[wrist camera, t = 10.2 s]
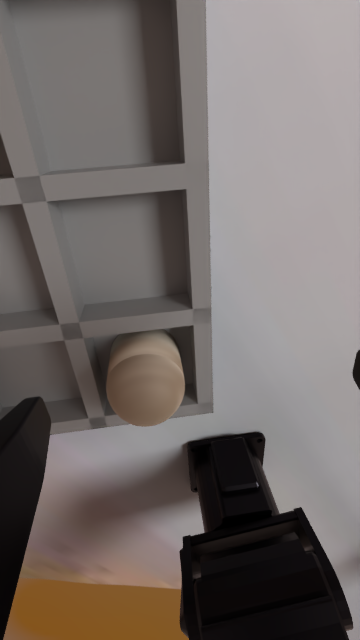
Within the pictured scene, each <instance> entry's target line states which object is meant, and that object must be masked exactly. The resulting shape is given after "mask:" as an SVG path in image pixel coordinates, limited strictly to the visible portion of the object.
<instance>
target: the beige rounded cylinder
mask: <svg viewBox="0 0 360 640" xmlns="http://www.w3.org/2000/svg"><path fill="white" fill-rule="evenodd" d="M106 392H107V398H108V400H109V403H110V405H111V407H112V409H113V410H114V412H115V413H116V414H117V415H118V416H119V417H120V418H121V419H123V420H124V421H126V422H128V423H130V424H132V425H136V426H153V425H157V424H160V423H162V422H164V421H166V420H167V419H168V418H170V417H171V416H172V415H173V414H174V413H175V412H176V411H177V409H178V408H179V406H180V404H181V402H182V400H183V396H184V392H185V380H184V374H183V369H182V363H181V358H180V353H179V347H178V344H177V342H176V340H175V338H174V337H173V336H172V335H171V334H170V333H169V332H168V331H166V330H164V329H157V330H148V331H140V332H131V333H123V334H119V335H118V336H117V337H116V339H115V340H114V342H113V344H112V347H111V352H110V359H109V367H108V375H107V382H106Z"/></svg>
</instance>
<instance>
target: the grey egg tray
mask: <svg viewBox="0 0 360 640" xmlns="http://www.w3.org/2000/svg"><path fill="white" fill-rule="evenodd" d="M157 329H164V330H166V331H168V332H169V333H170V334H171V335H172V336H173V337H174V338H175V340H176V342H177V344H178V347H179V353H180V358H181V363H182V369H183V374H184V380H185V392H184V396H183V400H182V402H181V404H180V406H179V408H178V409H177V411H176V412H175V413H174V414H173V415H172V416H171V417H170V418H177V417H185V416H192V415H199V414H207V413H213V380H212V325H211V270H210V215H209V160H208V106H207V51H206V0H0V419H2V418H3V417H4V416H5V415H6V414H7V413H8V412H10V411H11V410H12V409H13V408H14V407H15V406H16V405H17V404H19V403H20V402H21V401H22V400H23V399H25V398H29V397H36V396H40V397H41V398H42V399H43V401H44V403H45V405H46V408H47V410H48V413H49V415H50V418H51V431H50V435H52V434H60V433H67V432H74V431H82V430H89V429H96V428H104V427H111V426H119V425H126V424H130V423H128V422H126V421H124V420H123V419H121V418H120V417H119V416H118V415H117V414H116V413H115V412H114V410H113V409H112V407H111V405H110V403H109V400H108V398H107V392H106V382H107V375H108V367H109V359H110V352H111V347H112V344H113V342H114V340H115V339H116V337H117V336H118V335H119V334H123V333H131V332H140V331H148V330H157ZM170 418H168V419H170Z"/></svg>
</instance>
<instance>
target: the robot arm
mask: <svg viewBox="0 0 360 640" xmlns="http://www.w3.org/2000/svg"><path fill="white" fill-rule="evenodd" d="M353 378H354V381H355V382H356V384H357V386H358V388H359V389H360V350H359V351H358V352H357V354H356V359H355V363H354V368H353ZM50 431H51V418H50V415H49V413H48V410H47V408H46V405H45V403H44V401H43V399H42V398H41V397H40V396H36V397H29V398H25V399H23V400H22V401H21V402H20V403H19V404H17V405H16V406H15V407H14V408H13V409H12V410H11V411H10V412H8V413H7V414H6V415H5V416H4V417H3V418H2V419H0V640H3V637H4V634H5V630H6V626H7V622H8V618H9V614H10V610H11V606H12V602H13V599H14V595H15V591H16V587H17V583H18V579H19V575H20V571H21V567H22V563H23V559H24V555H25V551H26V547H27V543H28V539H29V535H30V532H31V528H32V524H33V520H34V516H35V512H36V508H37V504H38V500H39V496H40V492H41V488H42V484H43V479H44V473H45V467H46V459H47V452H48V445H49V438H50ZM187 448H188V460H189V472H190V484H191V490H192V492H198V496H199V502H200V508H201V514H202V520H203V526H204V532H205V533H202V534H198V535H194V536H190V535H188V536H184V537H183V548H182V549H181V550H180V561H181V572H182V588H181V605H180V607H181V608H180V627H181V630H182V632H183V633H184V634H185V635H186V636H187V637H188V638H189V640H349V638H348V635H347V632H346V631H348V630H352V629H353V622H352V617H351V614H350V610H349V607H348V604H347V601H346V598H345V595H344V593H343V590H342V588H341V585H340V583H339V580H338V578H337V576H336V573H335V571H334V569H333V567H332V565H331V563H330V561H329V559H328V557H327V555H326V553H325V551H324V550H323V548H322V546H321V544H320V542H319V540H318V538H317V536H316V534H315V532H314V531H313V529H312V527H311V525H310V523H309V521H308V519H307V517H306V515H305V513H304V511H303V510H302V508H301V507H300V508H296V509H294V511H290V512H286V513H282V514H279V511H278V508H277V506H276V503H275V500H274V498H273V495H272V492H271V490H270V487H269V484H268V482H267V479H266V476H265V474H264V471H263V468H262V466H263V457H264V448H265V437H264V435H263V434H262V433H253V434H246V435H239V436H232V437H225V438H218V439H211V440H204V441H197V442H191V443H189V444H188V446H187Z"/></svg>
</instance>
